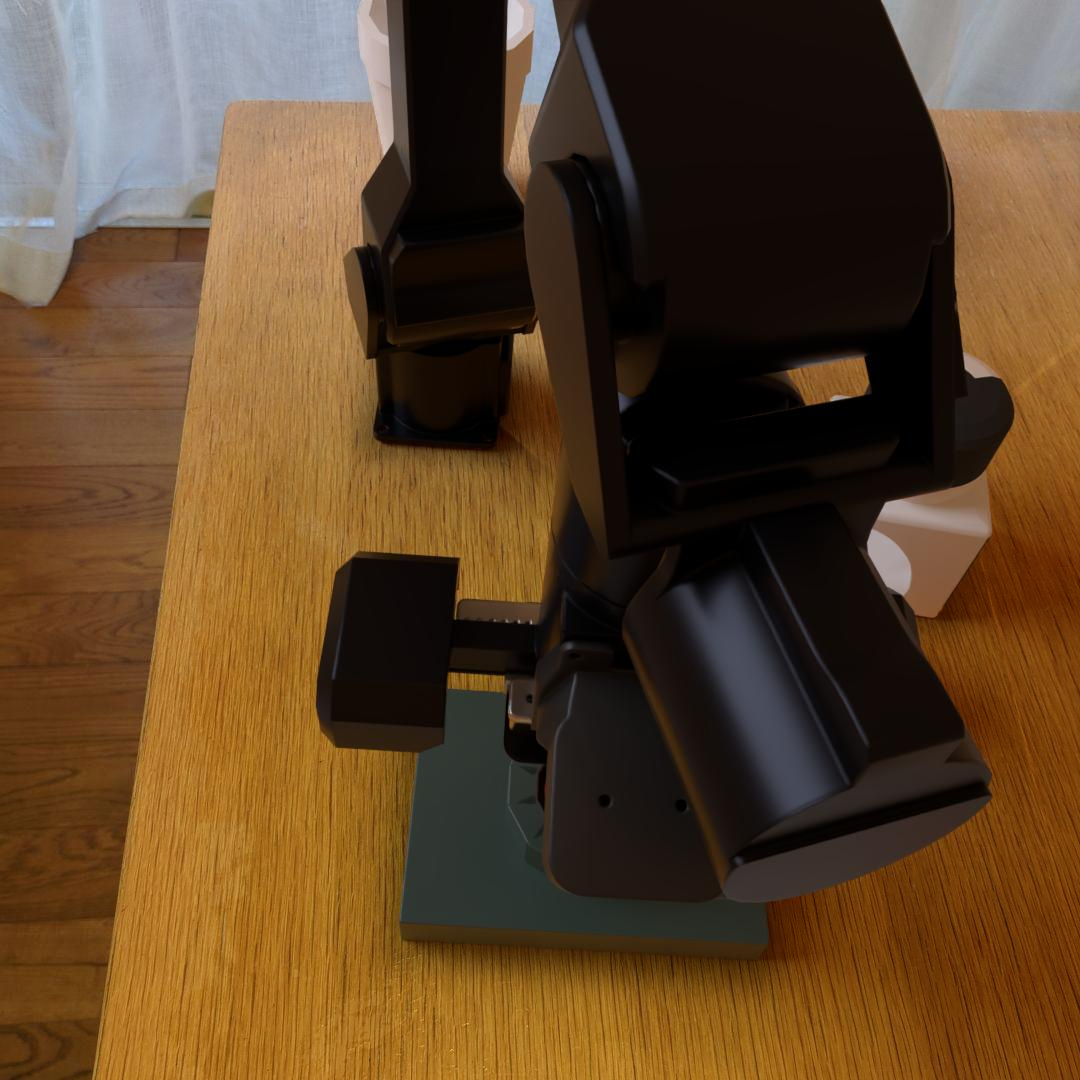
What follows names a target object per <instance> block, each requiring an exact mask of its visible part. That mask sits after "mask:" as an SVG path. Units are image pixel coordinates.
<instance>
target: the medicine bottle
mask: <svg viewBox="0 0 1080 1080" xmlns="http://www.w3.org/2000/svg"><path fill="white" fill-rule="evenodd" d="M963 356H964V365H965V373H966V382H967V390H968V397H965V398H960V399H955V480H954V483H953V486H951V487H950V488H949V489H948V490H943V491H938V492H933V493H928V494H924V495H919V496H914V497H909V498H905V499H900V500H895V501H890V502H886V503H885V505H884V507H883V508H882V510H881V512H880V514H879V516H878V518H877V520H876V522H875V524H874V526H873V528H872V529H873V530H876V531H878V532H880V533H882V534H884V535H886V536H887V537H889V538H890V539H892V540H893V541H894V542H895V543H896V544H898V545H899V546H900V548H901V549H902V550H903V551H904V553H905V554H906V556H907V557H908V559H909V562H910V564H911V568H912V573H913V579H912V585H911V588H910V590H909V592H908V594H907V596H906V598H905V600H906V601H907V602H908V604H909V605H910V606H911V608H912V609H913V610H914V613H915V616H918V617H923V618H936V617H938V616H939V615H940V613H941V612H942V610H943V609H944V607H945V606H946V605H947V603H948V601H949V600H950V598H951V597H952V595H953V594H954V592H955V591H956V589H957V587H958V586H959V585H960V583H961V582H962V581H963V579H964V577H965V576H966V574H967V573H968V572H969V570H970V569H971V567H972V565H973V564H974V562H975V561H976V559H977V557H978V556H979V555H980V553H981V551H982V550H983V549H984V548H985V546H986V544H987V543H988V541H989V539H990V538H991V537H992V534H993V525H992V524H993V523H992V515H991V507H990V506H991V505H990V497H989V495H990V494H989V487H988V486H989V485H988V478H987V468H988V467H989V465H990V463H991V462H992V460H993V458H994V456H995V455H996V454H997V451H998V450H999V449H1000V446H1001V445H1002V443H1003V442H1004V440H1005V438H1006V437H1007V435H1008V434H1009V433H1010V430H1011V428H1012V426H1013V425H1014V424H1013V423H1014V421H1015V403H1014V401H1013V398H1012V395H1011V393H1010V391H1009V389H1008V387H1007V386H1006V383H1005V382H1004V381H1003V379H1002V378H1001V377H1000V375H998V373H997V372H996V371H995V370H994V369H993V368H991V367H990V366H989V365H988V364H987V363H985V362H984V361H982V360H981V359H978V358H977V357H976V356H974V355H971V354H969V353H967V352H965V351H963ZM867 394H871V389H870V384H869V383H868V385H867V387H866V389H865V392H864V394H863V395H867ZM851 397H852V396H848V395H841V394H835V395H832V397H831V398H830V399H829V401H835V400H840V399H845V398H851Z"/></svg>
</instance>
